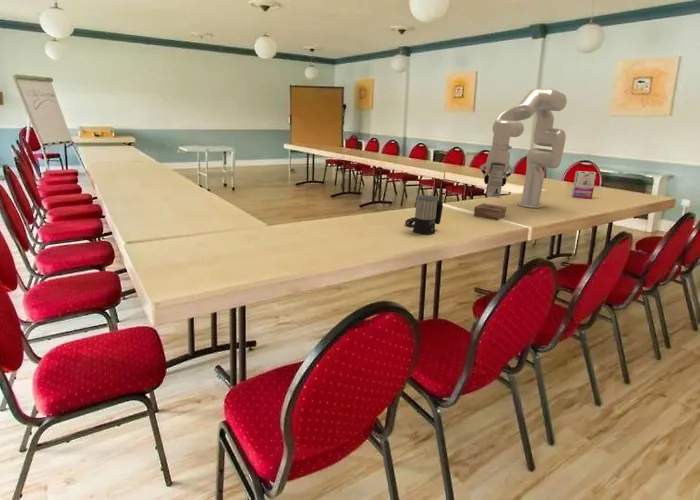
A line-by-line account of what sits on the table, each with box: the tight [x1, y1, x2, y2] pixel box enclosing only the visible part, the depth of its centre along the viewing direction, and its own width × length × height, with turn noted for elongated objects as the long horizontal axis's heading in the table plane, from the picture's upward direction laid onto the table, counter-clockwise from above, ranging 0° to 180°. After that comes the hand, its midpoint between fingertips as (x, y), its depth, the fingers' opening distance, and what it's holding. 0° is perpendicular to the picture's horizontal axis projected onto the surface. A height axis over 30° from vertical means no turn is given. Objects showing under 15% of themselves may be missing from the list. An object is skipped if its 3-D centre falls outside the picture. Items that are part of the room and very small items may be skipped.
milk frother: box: [404, 194, 444, 235], centre depth 199 cm, size 14×16×15 cm
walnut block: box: [473, 202, 508, 221], centre depth 232 cm, size 12×12×5 cm
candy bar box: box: [571, 170, 598, 200], centre depth 296 cm, size 11×5×16 cm, turn 81°
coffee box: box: [485, 163, 505, 199], centre depth 228 cm, size 9×6×16 cm
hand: (494, 184), depth 228 cm, fingers closed on coffee box, 7 cm apart
